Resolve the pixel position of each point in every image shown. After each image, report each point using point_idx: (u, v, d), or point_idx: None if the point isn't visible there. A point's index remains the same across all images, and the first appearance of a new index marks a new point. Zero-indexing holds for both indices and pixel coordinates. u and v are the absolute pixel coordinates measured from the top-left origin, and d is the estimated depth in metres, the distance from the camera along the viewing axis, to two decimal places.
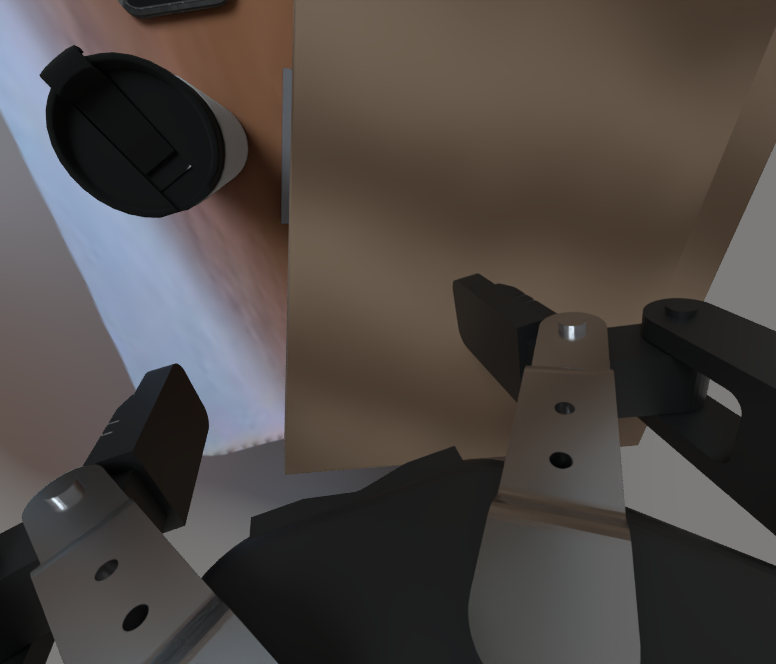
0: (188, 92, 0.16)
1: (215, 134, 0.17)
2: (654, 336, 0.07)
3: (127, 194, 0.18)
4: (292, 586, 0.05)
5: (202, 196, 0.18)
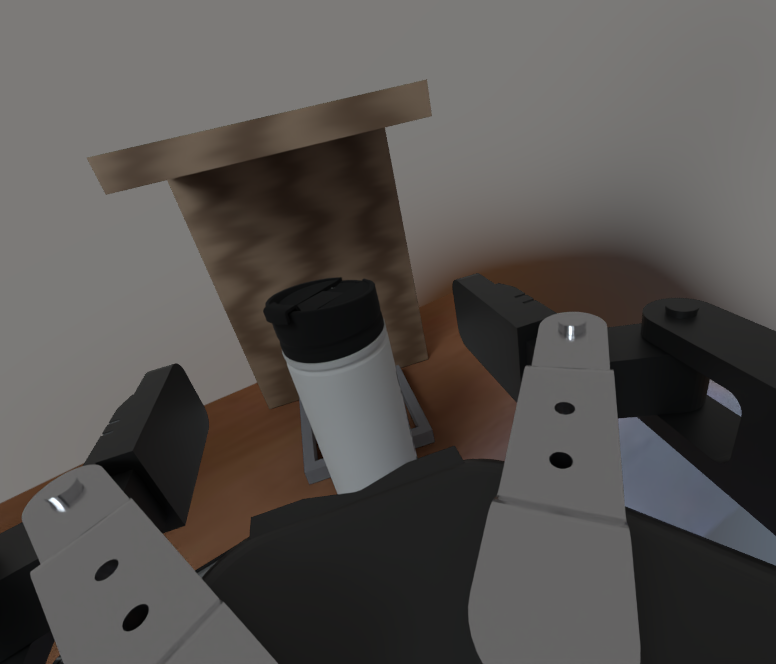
0: (283, 290, 0.24)
1: None
2: (654, 336, 0.07)
3: (361, 292, 0.22)
4: (292, 586, 0.05)
5: (351, 280, 0.25)
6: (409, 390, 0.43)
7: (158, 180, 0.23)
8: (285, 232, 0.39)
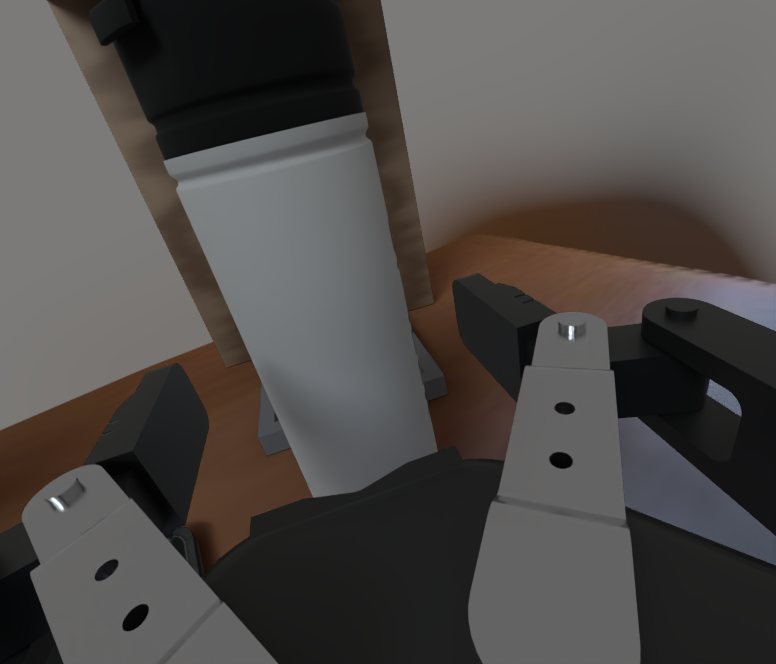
0: None
1: None
2: (654, 336, 0.07)
3: None
4: (292, 586, 0.05)
5: None
6: None
7: None
8: None
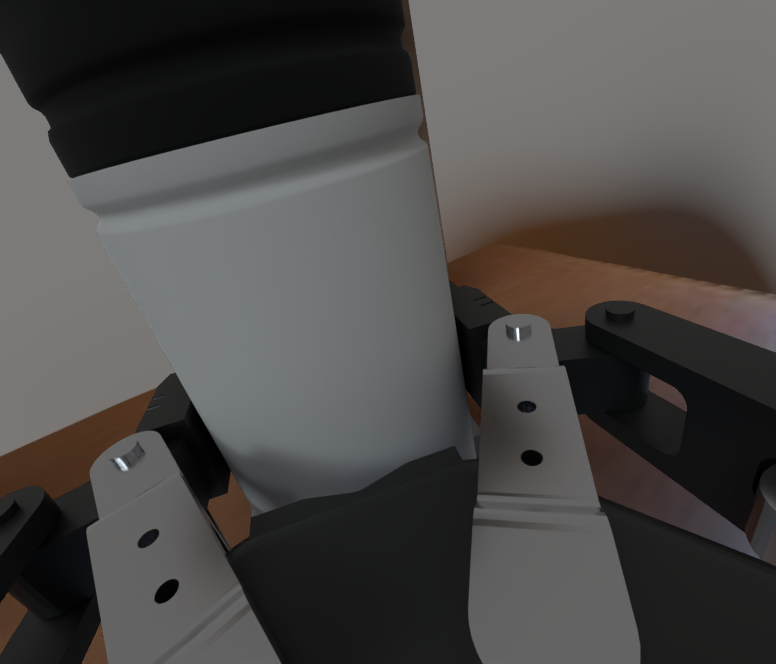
0: None
1: None
2: (599, 339, 0.08)
3: None
4: (292, 586, 0.05)
5: None
6: None
7: None
8: None
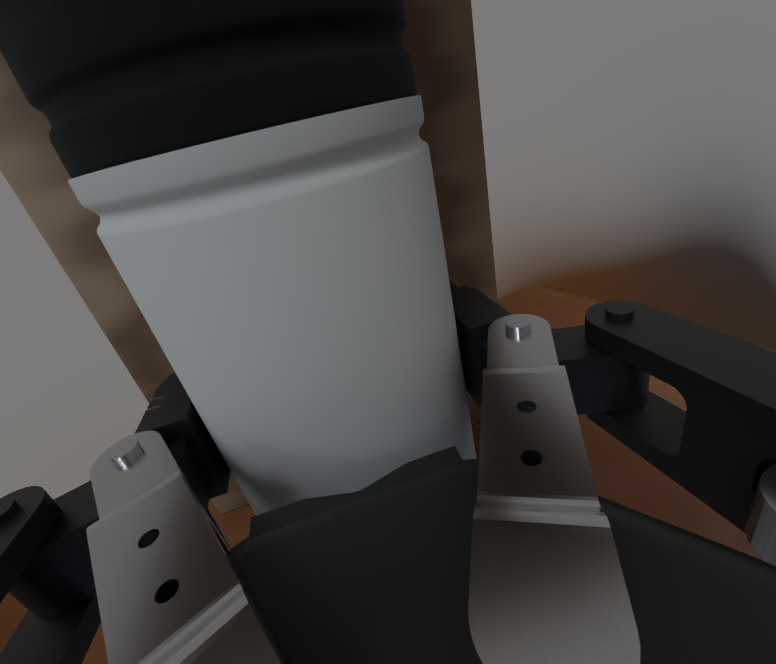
0: None
1: None
2: (598, 339, 0.08)
3: None
4: (292, 586, 0.05)
5: None
6: None
7: None
8: None
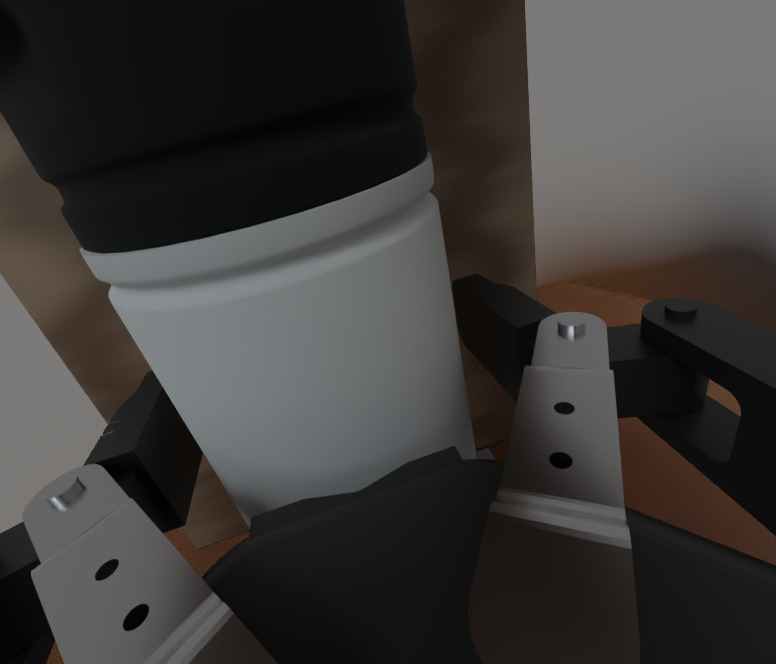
0: None
1: None
2: (653, 336, 0.07)
3: None
4: (292, 586, 0.05)
5: None
6: None
7: None
8: None
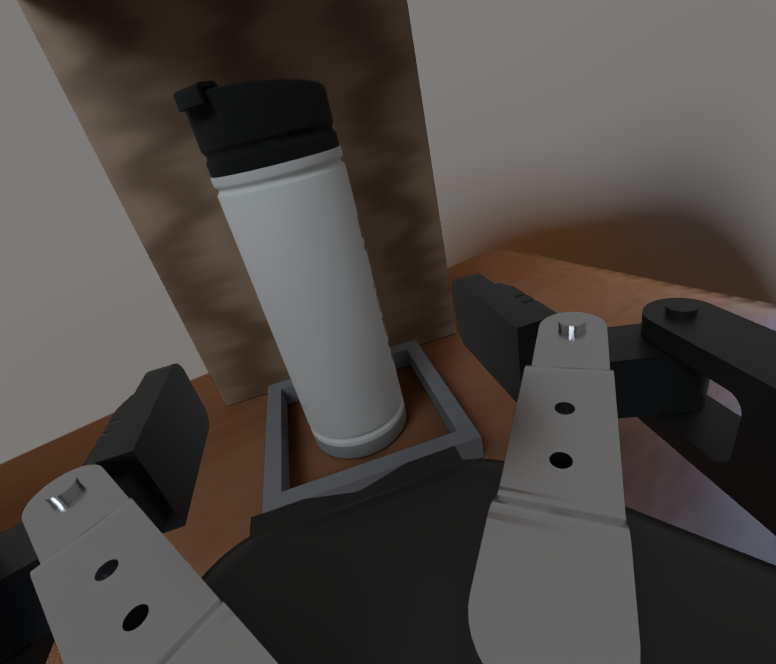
0: None
1: None
2: (654, 336, 0.07)
3: None
4: (292, 586, 0.05)
5: None
6: (435, 374, 0.27)
7: None
8: None
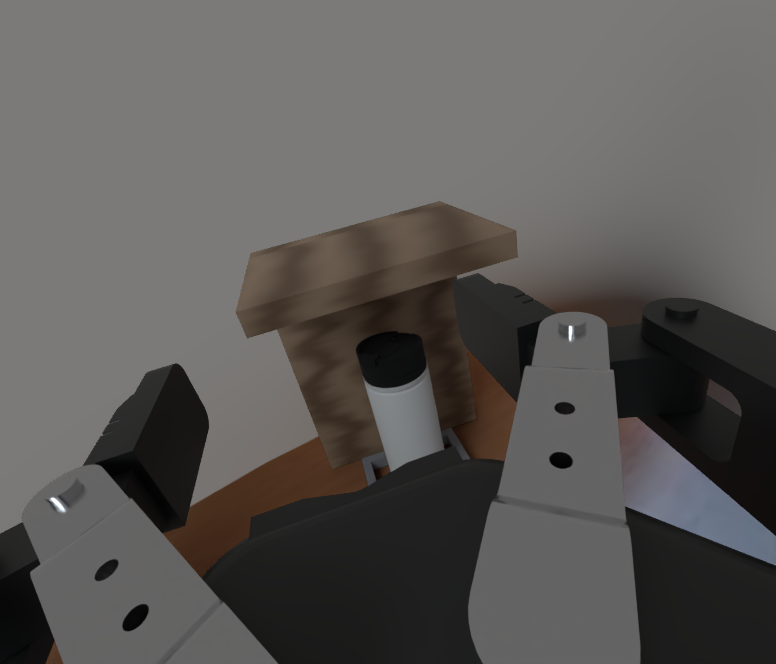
0: (362, 341, 0.38)
1: (375, 335, 0.39)
2: (654, 336, 0.07)
3: (413, 343, 0.36)
4: (292, 586, 0.05)
5: (403, 333, 0.39)
6: (467, 457, 0.46)
7: (290, 324, 0.27)
8: (357, 319, 0.43)
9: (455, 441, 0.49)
